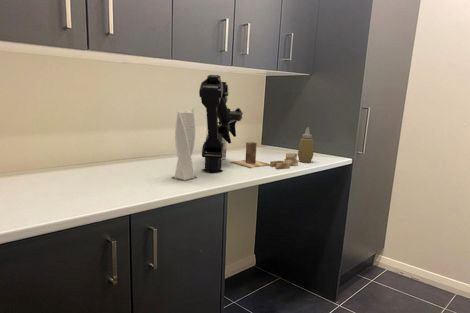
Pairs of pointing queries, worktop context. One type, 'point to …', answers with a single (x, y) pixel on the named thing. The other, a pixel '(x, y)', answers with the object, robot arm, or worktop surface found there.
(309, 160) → the squeeze bottle
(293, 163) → the pine offcut lower
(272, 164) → the oak rack
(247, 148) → the brown wooden block
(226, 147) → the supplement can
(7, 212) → the worktop surface
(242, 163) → the striped wooden board
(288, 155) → the pine offcut upper
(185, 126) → the skyscraper
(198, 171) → the worktop surface
